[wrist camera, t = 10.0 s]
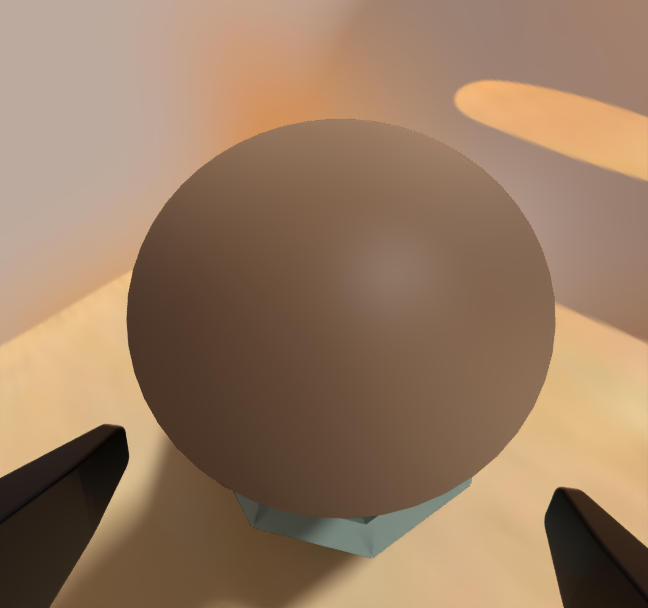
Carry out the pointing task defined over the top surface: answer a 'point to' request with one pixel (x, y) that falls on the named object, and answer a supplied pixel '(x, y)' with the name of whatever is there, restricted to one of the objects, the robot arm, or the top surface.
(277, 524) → the pot
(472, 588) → the top surface
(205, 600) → the top surface
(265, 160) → the pepper mill
